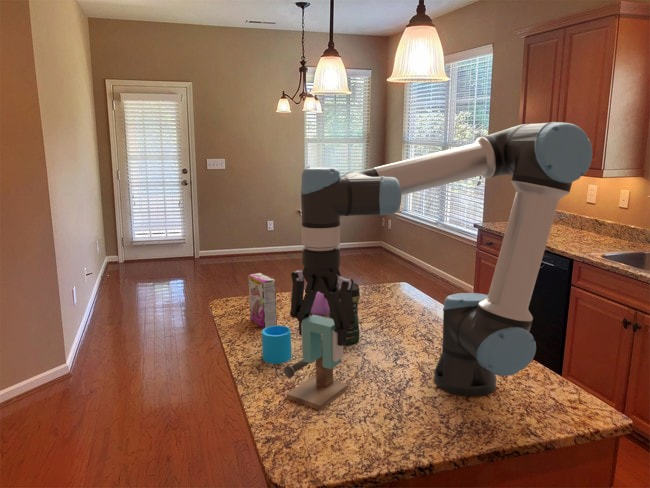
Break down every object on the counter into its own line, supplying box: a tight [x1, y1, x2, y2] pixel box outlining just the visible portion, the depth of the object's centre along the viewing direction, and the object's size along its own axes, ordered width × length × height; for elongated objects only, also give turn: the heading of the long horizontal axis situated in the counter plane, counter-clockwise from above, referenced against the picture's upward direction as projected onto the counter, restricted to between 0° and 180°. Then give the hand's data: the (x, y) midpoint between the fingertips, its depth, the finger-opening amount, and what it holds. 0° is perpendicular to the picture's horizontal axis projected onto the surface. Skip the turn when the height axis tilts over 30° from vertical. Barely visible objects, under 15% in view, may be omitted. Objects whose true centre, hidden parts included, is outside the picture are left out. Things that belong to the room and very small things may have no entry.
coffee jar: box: [328, 281, 361, 346], centre depth 152 cm, size 10×8×19 cm
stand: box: [283, 347, 349, 411], centre depth 119 cm, size 10×17×14 cm, turn 146°
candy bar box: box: [247, 272, 278, 329], centre depth 168 cm, size 11×5×16 cm, turn 34°
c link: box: [301, 314, 343, 369], centre depth 103 cm, size 7×4×9 cm, turn 56°
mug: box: [261, 325, 292, 365], centre depth 144 cm, size 12×8×8 cm
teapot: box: [310, 292, 330, 317], centre depth 182 cm, size 18×10×10 cm, turn 18°
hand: (322, 354), depth 104 cm, fingers closed on c link, 7 cm apart
